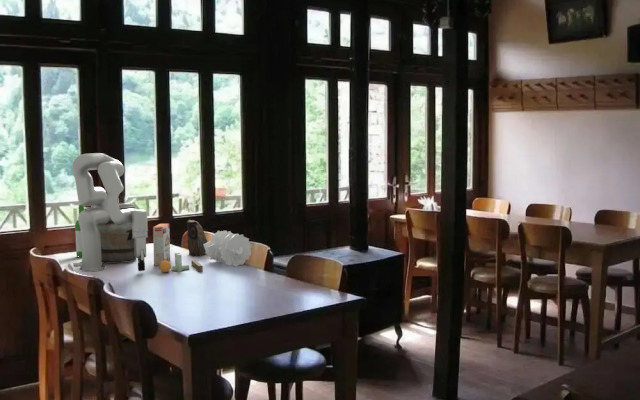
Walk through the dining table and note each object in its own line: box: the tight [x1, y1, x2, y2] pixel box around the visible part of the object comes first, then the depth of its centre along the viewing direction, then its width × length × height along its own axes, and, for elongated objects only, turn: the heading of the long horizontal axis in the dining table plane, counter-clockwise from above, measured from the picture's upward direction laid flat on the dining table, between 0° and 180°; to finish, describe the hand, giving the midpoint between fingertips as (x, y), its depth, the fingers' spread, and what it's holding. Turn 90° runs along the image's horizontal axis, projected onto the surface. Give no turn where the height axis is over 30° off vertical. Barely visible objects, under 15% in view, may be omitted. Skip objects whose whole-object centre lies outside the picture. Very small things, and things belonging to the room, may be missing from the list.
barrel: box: [91, 204, 137, 264], centre depth 378 cm, size 22×22×30 cm
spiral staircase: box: [203, 230, 253, 267], centre depth 367 cm, size 18×18×25 cm
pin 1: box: [174, 252, 181, 266], centre depth 355 cm, size 2×2×8 cm
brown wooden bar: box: [190, 259, 204, 273], centre depth 356 cm, size 2×18×3 cm, turn 22°
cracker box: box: [152, 223, 171, 267], centre depth 370 cm, size 14×6×21 cm, turn 179°
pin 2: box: [176, 253, 183, 273], centre depth 350 cm, size 2×2×8 cm
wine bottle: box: [74, 203, 85, 258], centre depth 392 cm, size 8×8×30 cm
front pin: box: [171, 264, 190, 272], centre depth 353 cm, size 2×2×8 cm
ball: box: [158, 261, 172, 273], centre depth 348 cm, size 6×6×6 cm
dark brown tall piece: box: [186, 219, 209, 258], centre depth 395 cm, size 13×13×20 cm
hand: (141, 270), depth 346 cm, fingers closed
